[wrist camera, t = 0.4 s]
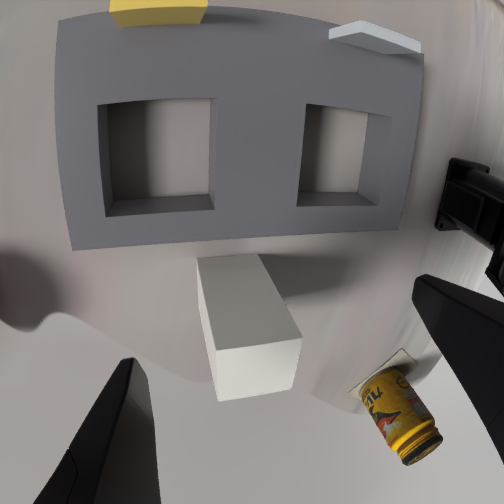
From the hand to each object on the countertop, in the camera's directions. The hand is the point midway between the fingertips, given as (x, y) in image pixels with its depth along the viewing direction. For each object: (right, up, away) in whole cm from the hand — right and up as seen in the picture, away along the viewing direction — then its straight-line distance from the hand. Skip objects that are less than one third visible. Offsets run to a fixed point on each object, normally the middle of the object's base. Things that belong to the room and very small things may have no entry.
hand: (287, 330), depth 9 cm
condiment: (+16, -14, +26) cm, 33 cm away
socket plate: (-1, +9, +7) cm, 12 cm away
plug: (-3, 0, +12) cm, 13 cm away
